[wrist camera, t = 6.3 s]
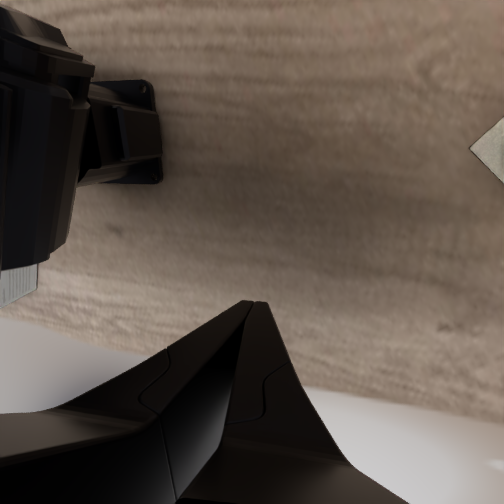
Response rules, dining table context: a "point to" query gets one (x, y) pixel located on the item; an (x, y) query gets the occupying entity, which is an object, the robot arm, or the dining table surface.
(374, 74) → the dining table surface
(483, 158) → the condiment
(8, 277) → the skincare box
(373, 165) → the dining table surface
